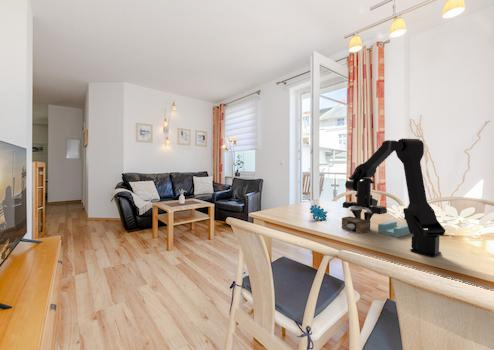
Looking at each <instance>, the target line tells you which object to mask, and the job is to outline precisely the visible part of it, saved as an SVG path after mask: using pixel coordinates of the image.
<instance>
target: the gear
mask: <svg viewBox="0 0 494 350" xmlns="http://www.w3.org/2000/svg"><path fill="white" fill-rule="evenodd" d="M309 210H310V212H309V213H310V214H312V218H313V219H316V220H317V221H318V220H319V221H320V222H321V221H325V220H327V217H328V215H327V214H328V211H327V210H326V211H325V209H324V208H323V207H322V208H321V205H318V204H314V205H311V206H310V208H309Z"/></svg>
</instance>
